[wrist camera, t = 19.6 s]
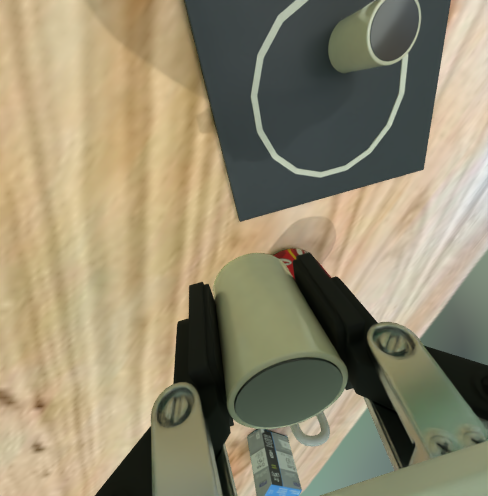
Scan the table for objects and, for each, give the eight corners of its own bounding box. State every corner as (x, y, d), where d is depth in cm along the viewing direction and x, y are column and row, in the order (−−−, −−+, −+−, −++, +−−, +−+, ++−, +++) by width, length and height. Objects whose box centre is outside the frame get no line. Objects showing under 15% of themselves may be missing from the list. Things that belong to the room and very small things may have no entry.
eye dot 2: (328, 78, 20) (366, 71, 16) (326, 21, 19) (368, -5, 14) (369, 67, 21) (417, 57, 16) (372, 9, 19) (427, -19, 14)
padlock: (267, 384, 41) (288, 458, 33) (271, 368, 39) (294, 442, 31) (307, 379, 43) (337, 448, 34) (313, 364, 41) (346, 432, 32)
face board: (239, 219, 26) (240, 222, 25) (177, -26, 16) (177, -31, 16) (419, 168, 27) (424, 169, 26) (458, -90, 17) (467, -97, 17)
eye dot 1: (223, 324, 12) (242, 443, 8) (202, 265, 10) (211, 379, 6) (294, 304, 12) (349, 409, 8) (285, 243, 11) (351, 337, 6)
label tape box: (288, 436, 51) (313, 521, 41) (273, 445, 52) (294, 531, 42) (260, 426, 47) (280, 517, 37) (245, 436, 48) (260, 529, 38)
